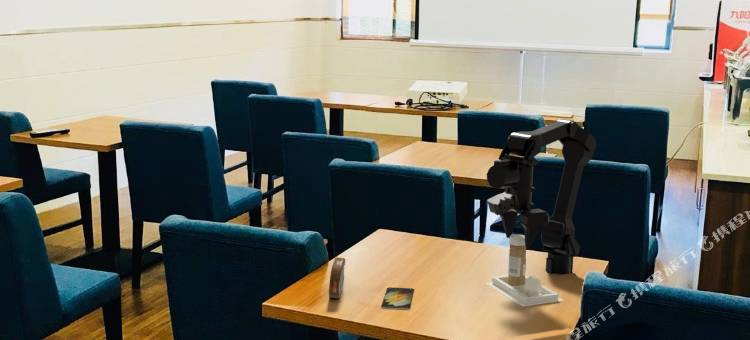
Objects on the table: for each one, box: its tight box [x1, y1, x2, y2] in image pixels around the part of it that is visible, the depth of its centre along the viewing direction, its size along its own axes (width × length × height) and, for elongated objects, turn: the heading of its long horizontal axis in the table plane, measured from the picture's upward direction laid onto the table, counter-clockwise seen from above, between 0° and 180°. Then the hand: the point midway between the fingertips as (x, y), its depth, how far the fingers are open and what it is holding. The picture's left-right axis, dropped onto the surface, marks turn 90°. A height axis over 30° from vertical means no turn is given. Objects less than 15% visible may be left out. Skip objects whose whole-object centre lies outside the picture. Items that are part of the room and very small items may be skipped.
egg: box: [524, 275, 543, 297], centre depth 212 cm, size 4×4×5 cm
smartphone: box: [380, 286, 415, 311], centre depth 213 cm, size 7×1×15 cm
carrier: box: [486, 274, 565, 307], centre depth 216 cm, size 12×18×3 cm, turn 22°
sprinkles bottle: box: [507, 234, 527, 286], centre depth 218 cm, size 5×5×13 cm
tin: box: [328, 256, 346, 299], centre depth 216 cm, size 15×3×8 cm, turn 176°
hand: (517, 242), depth 217 cm, fingers open, 9 cm apart
